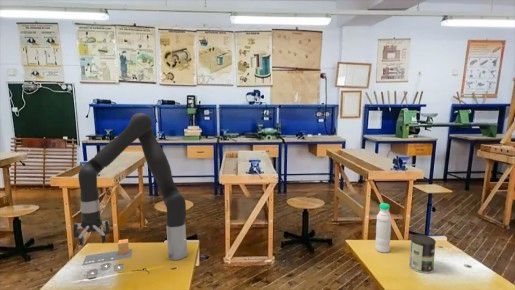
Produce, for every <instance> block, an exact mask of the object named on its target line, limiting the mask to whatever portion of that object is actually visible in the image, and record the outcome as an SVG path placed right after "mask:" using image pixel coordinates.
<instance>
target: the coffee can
mask: <svg viewBox="0 0 515 290" xmlns="http://www.w3.org/2000/svg"><path fill="white" fill-rule="evenodd" d="M436 243H437V241H436V240H435V238H433V237H431V236H428V235H424V234H412V235H411V236H410V245H409V246H410V248H409V263H408V266H409V268H410V269H412V270H413V271H414V272H418V273H421V274H431V273H433V272H434V271H435V270H434V267H435V266H434V265H435V252H436Z"/></svg>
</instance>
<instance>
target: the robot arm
mask: <svg viewBox="0 0 515 290" xmlns="http://www.w3.org/2000/svg"><path fill="white" fill-rule="evenodd" d="M137 139H138V141H139V143H140V145H141V148H142V152H143V155H144V156H143V157H144V158H145V161H146V165H147V166H148V169H149V171H150V173H151V175H152V176H153V178H154V181H155V182H156V184H157V185H158V187H159V190H160V193H161V195H162V199H163V202H164V205H165V208H166V220H165V221H166V222H165V224H166V225H165V226H166V242H167V258H168V259H169V260H171V261H177V260H178V261H180V260H182V259H185V258H187V257H188V248H187V247H188V243H187V232H186V230H187V228H186V218H187V209H186V208H187V206H186V205H187V203H186V200H185V197H184V196H183V195H182V194H181V192H180V191H179V190H178V187H177V185H176V184H175V182H174V179H173V173H172V170H171V169H172V168H171V166H170V163H169V160H168V158H167V155H166V154H165V152H164V149H163V147H161V145H160V143H159V141H158V139H157V137H156V136H155V133H154V129H153V121H152V118H151V117H150V115H148V114H147V113H146V114H145V113H143V112H136V113H134V114H133V115H132V116H131V118H130V121H129V123H128V125H127V126H126V127H125V128H124V130H123V131H122V132H120V133H119V135H117V136H116V137H115V138H113V139H112V140H111V141H109V142H108V143H107V144H106V145H104V147H102V148H101V149H100V150H99V151H98V152H97V153H96V154H95V155H94V157H92V158H91V159H90V160H89V161H87V162H86V163H84V165H83V166H82V167H81V168H80V170H79V171H78V184H79V189H80V214H81V215H80V216H81V222H80V223H79V222H75V223H74V224H73V238H77V239H78V240H79V241H78V242H79V245H80V247H83V246H84V245H85V241H84V235H85V234H86V232H87V233H92V232H93V233H95V232H97V233H99V234H100V235H101V243H102V244H105V242H106V241H107V235H108V234H110V232H111V228H110V221H109V219H106V220H102V217H101V215H102V214H101V205H100V200H99V199H100V195H99V187H98V175H99V174H100V173H101V171H103V169H105V168H107V167H108V166H110V164H112V163H113V162H114V161H115V160H116V159H118V157H119V156H120V155H121V154H122V153H123V152H124V151H125V150H126V149H127V148H128V147H129V146H131V144H132V143H133V142H135V141H136V140H137ZM102 224H103V225H102ZM102 226H105V229H104V228H103V227H102ZM80 227H81V228H82V229H83V230H82V231H81V232H80V233H79V229H80Z"/></svg>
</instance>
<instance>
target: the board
mask: <svg viewBox="0 0 515 290" xmlns="http://www.w3.org/2000/svg"><path fill="white" fill-rule="evenodd" d="M132 256H133V248H129V253H128V254H123V255H119V251H118V250H115V251H107V252H101V253H95V254H88V255H85V256H84V259H83V262H82V265H81V266H87V265H93V264H95V265H96V264H98V263H104V262H105V263H108V262H112V261H119V260H124V259H131V258H132Z"/></svg>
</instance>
